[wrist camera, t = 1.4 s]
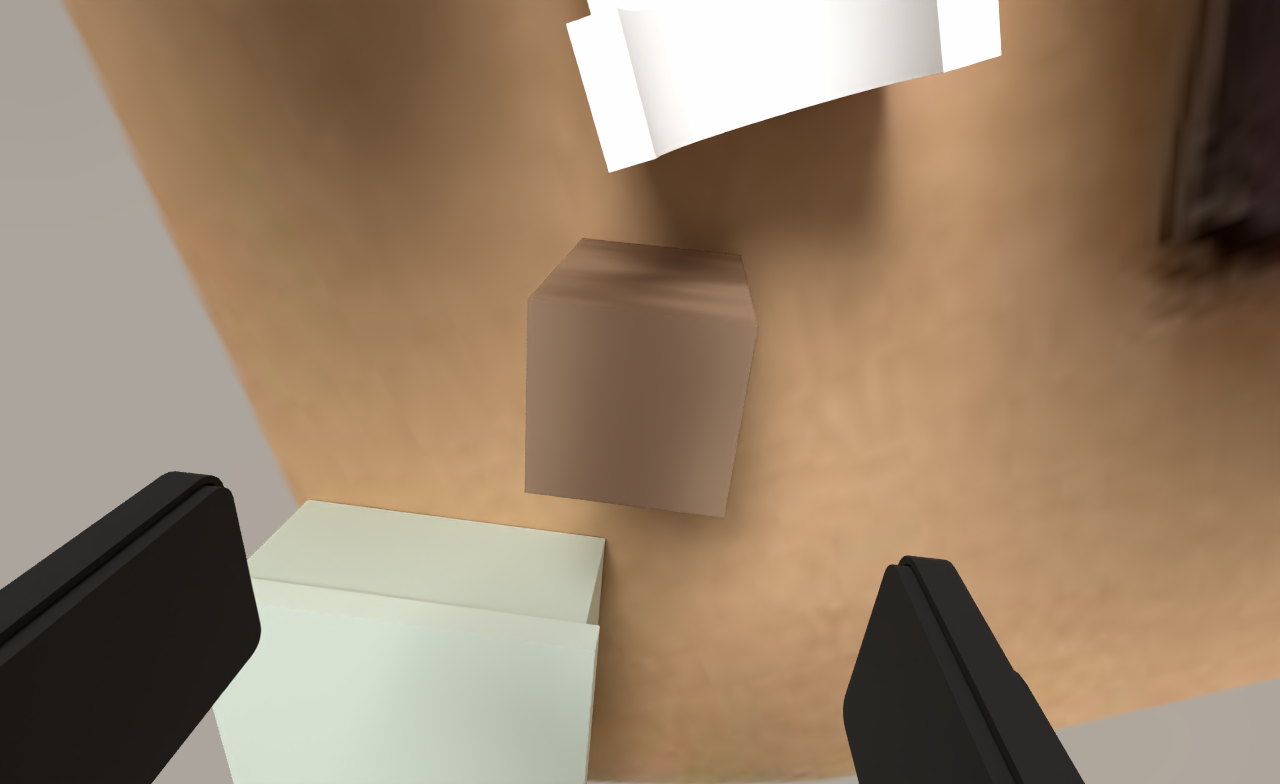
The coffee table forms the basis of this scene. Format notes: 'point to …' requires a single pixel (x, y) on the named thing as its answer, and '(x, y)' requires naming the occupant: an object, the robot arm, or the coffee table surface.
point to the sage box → (416, 653)
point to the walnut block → (638, 376)
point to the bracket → (756, 60)
